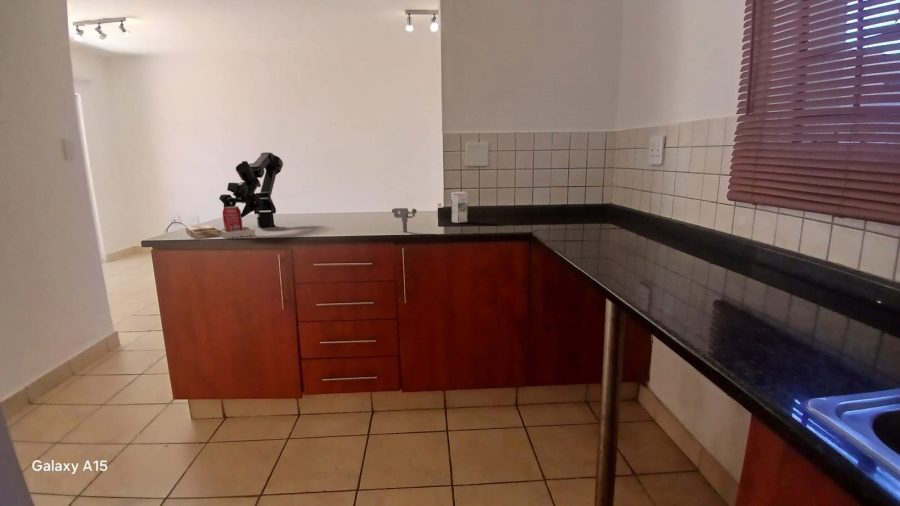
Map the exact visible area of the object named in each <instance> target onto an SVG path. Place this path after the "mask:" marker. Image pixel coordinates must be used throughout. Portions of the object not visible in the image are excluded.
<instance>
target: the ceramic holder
mask: <svg viewBox="0 0 900 506" xmlns="http://www.w3.org/2000/svg"><path fill="white" fill-rule="evenodd" d="M218 230H219V232H220V235H221V237H222V236H223V237H222V238H224V239H232V237H234V238H241V237H240V236H243V237H249V236H250V235H252V236H256V230H255V228H252V227H250V226H243V230H241V231H231V232H226V231H225V229H224V228H218ZM250 237H251V236H250Z"/></svg>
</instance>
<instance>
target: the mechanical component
mask: <svg viewBox="0 0 900 506" xmlns="http://www.w3.org/2000/svg"><path fill="white" fill-rule="evenodd" d="M417 210H418V209H416V208H411V212H410V211H409V210H408V208H407V207H406V208H405V207H402V208H401V207H395V208H392V209H391V212H392V213H393V217H394V218H395V219H396V218H397V219H401V222H402V229H403V231H402V232H403V233H407V232H408V226H407V225H408V219H412V218H414V217H416V213H417ZM409 215H411V216H409Z"/></svg>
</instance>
